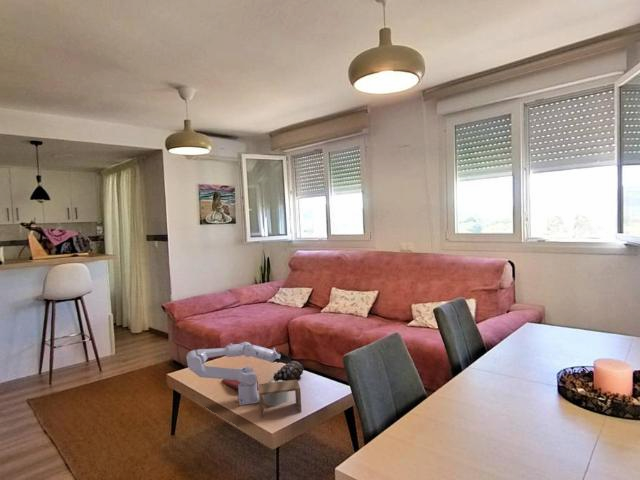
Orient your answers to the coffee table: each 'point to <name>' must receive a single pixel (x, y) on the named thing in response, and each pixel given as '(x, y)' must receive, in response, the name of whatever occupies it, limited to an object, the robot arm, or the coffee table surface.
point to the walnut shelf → (278, 388)
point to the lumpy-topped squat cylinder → (276, 397)
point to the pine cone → (289, 372)
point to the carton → (233, 383)
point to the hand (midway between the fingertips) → (287, 360)
